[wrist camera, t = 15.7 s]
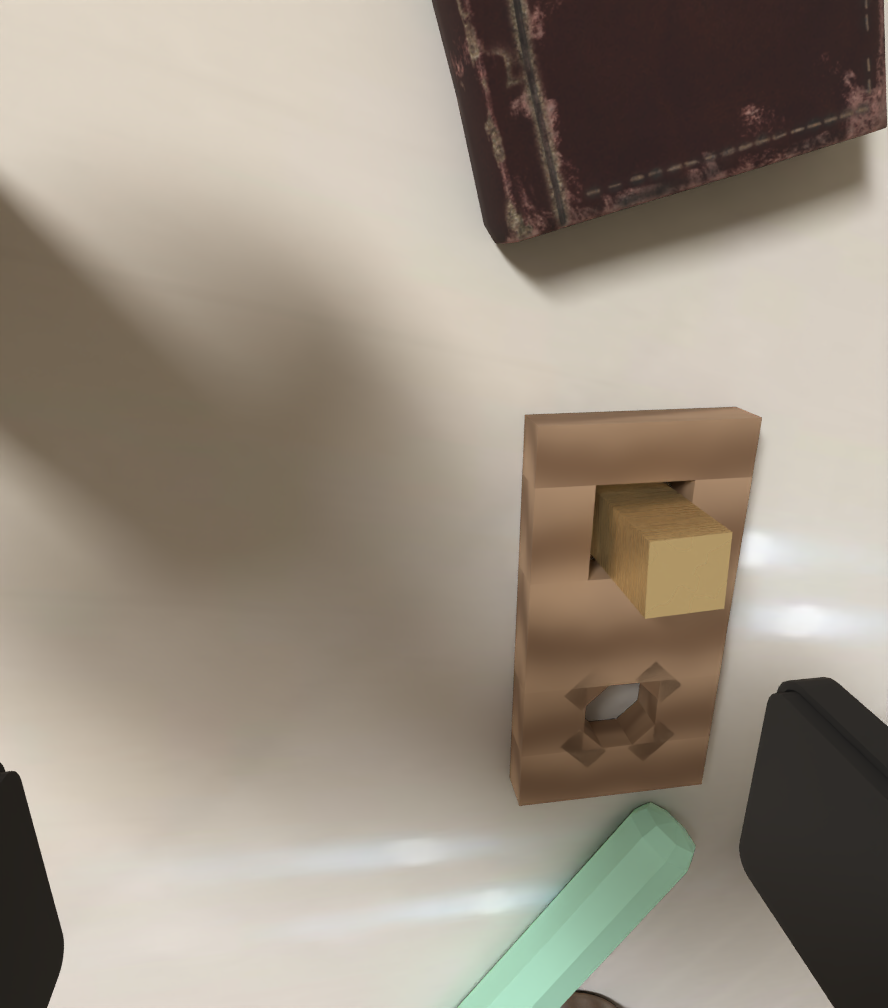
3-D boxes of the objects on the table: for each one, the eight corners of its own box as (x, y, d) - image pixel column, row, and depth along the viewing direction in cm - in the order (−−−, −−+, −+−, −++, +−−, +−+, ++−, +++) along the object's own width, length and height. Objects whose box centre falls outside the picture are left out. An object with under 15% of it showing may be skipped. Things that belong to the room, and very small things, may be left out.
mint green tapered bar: (688, 860, 42) (445, 1120, 47) (727, 861, 46) (500, 1101, 51) (625, 781, 47) (408, 1026, 51) (666, 789, 51) (461, 1016, 55)
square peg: (588, 484, 39) (649, 541, 32) (656, 477, 40) (732, 532, 32) (586, 549, 40) (644, 618, 33) (652, 541, 41) (724, 608, 34)
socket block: (524, 414, 37) (538, 426, 35) (736, 406, 39) (762, 417, 36) (509, 777, 46) (519, 805, 43) (683, 757, 47) (701, 784, 45)
